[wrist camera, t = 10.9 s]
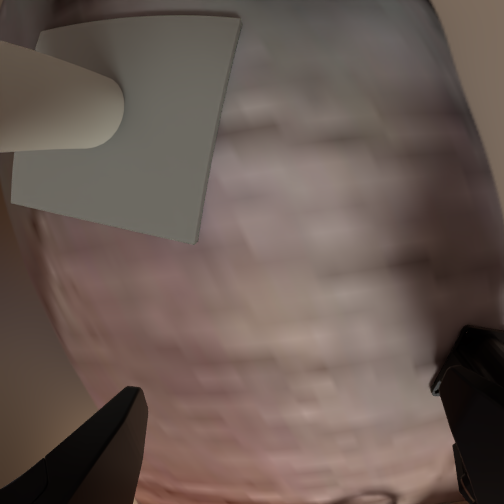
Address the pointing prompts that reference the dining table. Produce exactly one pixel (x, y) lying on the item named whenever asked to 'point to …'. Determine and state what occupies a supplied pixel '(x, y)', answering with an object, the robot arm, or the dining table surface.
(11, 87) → the beverage can
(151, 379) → the dining table surface
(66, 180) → the rubber mat
